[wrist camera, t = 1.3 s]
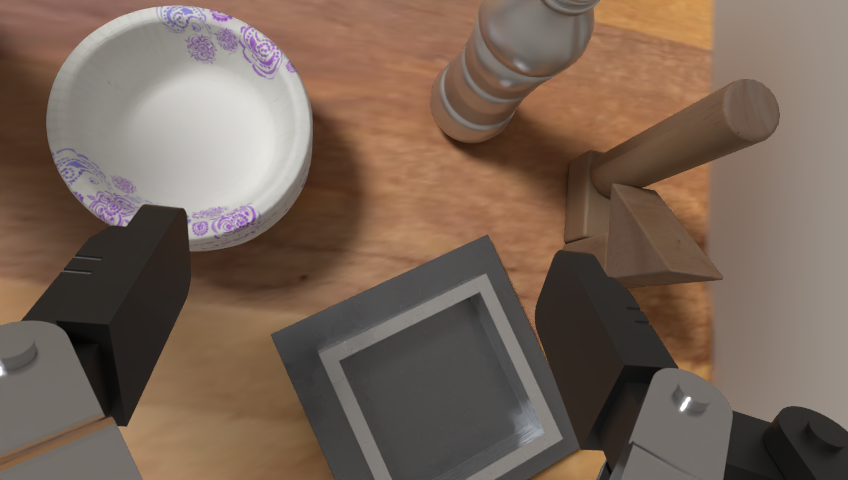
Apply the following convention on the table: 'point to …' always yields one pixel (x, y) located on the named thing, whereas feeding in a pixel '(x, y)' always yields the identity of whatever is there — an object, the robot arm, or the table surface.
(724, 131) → the brown wooden block stack
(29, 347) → the robot arm
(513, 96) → the silver metal bottle
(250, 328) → the table surface
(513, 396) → the plate
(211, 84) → the paper bowls
